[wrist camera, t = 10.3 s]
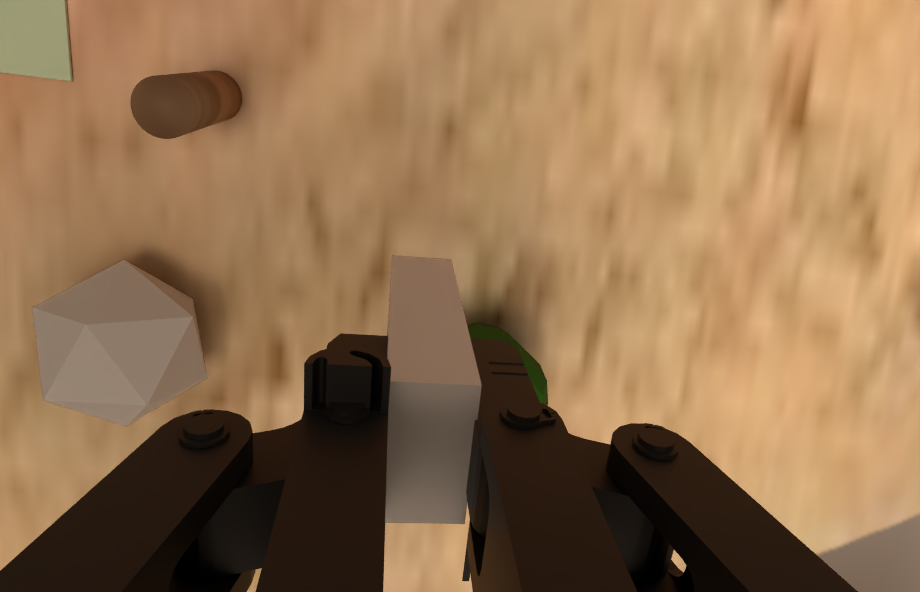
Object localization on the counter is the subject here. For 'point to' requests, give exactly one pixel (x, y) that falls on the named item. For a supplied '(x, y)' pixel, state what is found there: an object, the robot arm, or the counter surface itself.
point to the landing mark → (35, 39)
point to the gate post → (184, 102)
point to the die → (118, 345)
